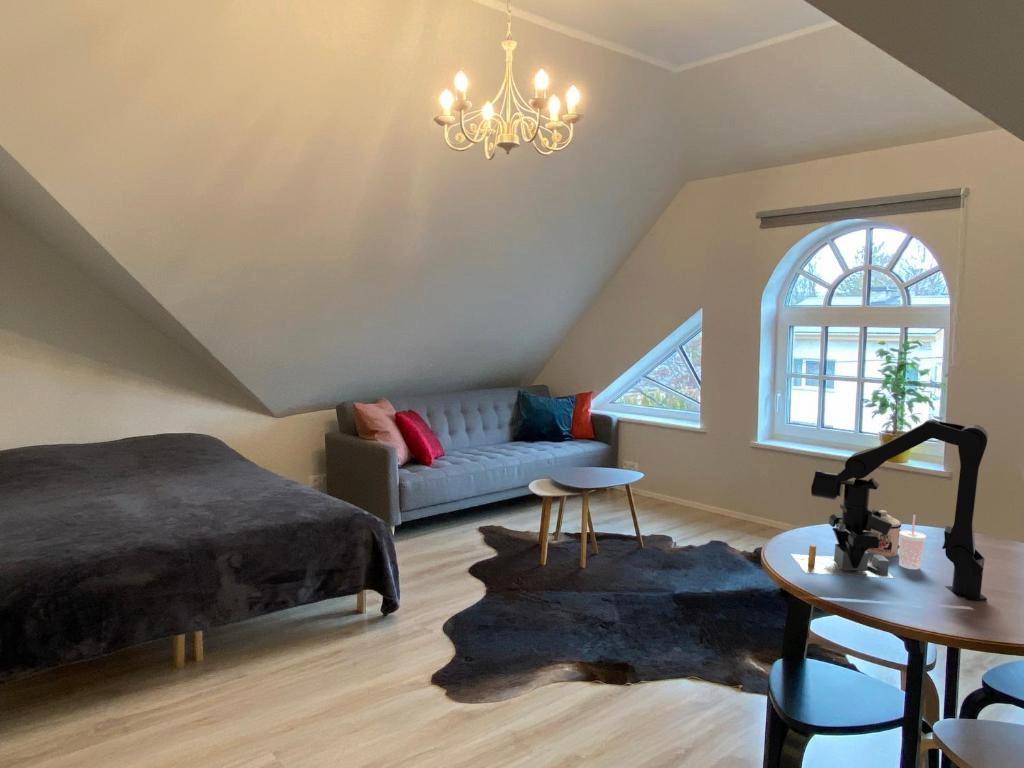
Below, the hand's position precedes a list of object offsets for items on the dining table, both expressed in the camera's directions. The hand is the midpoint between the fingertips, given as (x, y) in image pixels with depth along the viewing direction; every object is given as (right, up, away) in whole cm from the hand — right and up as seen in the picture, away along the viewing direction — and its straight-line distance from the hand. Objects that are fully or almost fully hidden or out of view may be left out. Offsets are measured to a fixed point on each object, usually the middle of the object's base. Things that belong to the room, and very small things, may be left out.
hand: (850, 563), depth 188 cm
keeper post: (-10, -1, +1) cm, 10 cm away
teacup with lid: (+15, -1, +13) cm, 20 cm away
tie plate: (-2, -1, +1) cm, 3 cm away
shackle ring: (0, -1, 0) cm, 1 cm away
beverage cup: (+16, -2, +3) cm, 17 cm away
